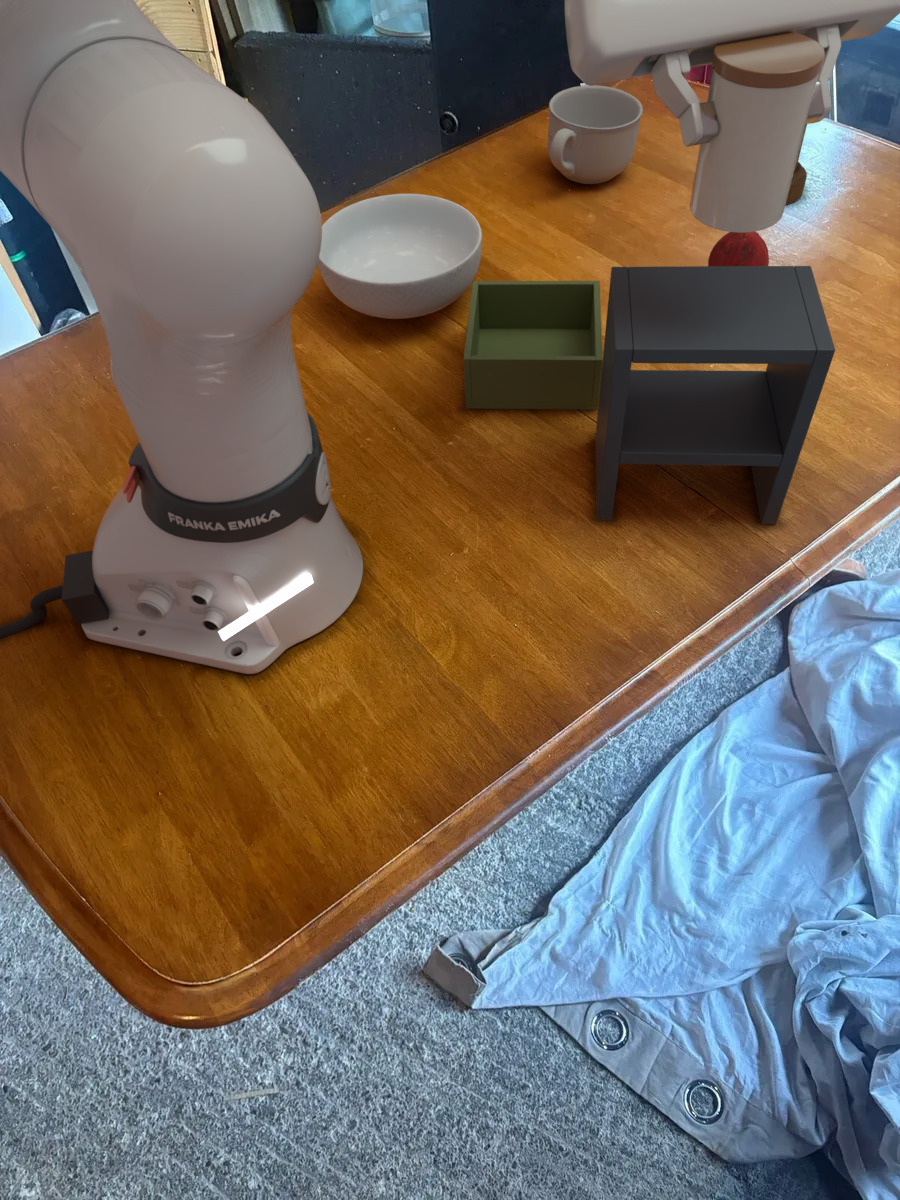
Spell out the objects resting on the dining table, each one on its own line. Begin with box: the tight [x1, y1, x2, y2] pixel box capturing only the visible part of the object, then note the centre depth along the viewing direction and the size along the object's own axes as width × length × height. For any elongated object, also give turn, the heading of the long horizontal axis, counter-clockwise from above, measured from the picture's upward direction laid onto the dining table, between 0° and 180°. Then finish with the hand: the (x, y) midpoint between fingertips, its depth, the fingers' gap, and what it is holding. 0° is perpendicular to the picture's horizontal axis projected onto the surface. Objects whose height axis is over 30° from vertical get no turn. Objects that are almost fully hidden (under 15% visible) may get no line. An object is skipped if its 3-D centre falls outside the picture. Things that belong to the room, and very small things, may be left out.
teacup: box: [547, 85, 644, 185], centre depth 105 cm, size 14×11×8 cm
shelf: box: [594, 265, 836, 525], centre depth 69 cm, size 14×10×17 cm
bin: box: [462, 280, 603, 411], centre depth 84 cm, size 12×12×6 cm
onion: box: [707, 231, 770, 266], centre depth 89 cm, size 6×6×8 cm
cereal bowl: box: [317, 193, 483, 320], centre depth 92 cm, size 17×17×7 cm
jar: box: [689, 32, 825, 233], centre depth 53 cm, size 6×6×9 cm
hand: (758, 130), depth 53 cm, fingers closed on jar, 6 cm apart
